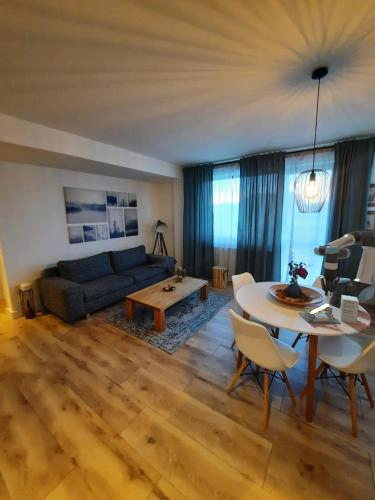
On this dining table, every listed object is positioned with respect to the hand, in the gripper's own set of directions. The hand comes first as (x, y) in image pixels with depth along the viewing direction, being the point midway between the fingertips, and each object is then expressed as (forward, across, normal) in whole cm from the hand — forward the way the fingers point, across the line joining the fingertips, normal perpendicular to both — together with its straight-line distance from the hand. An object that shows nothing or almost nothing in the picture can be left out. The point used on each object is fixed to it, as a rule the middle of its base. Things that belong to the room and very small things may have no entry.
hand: (327, 300), depth 147 cm
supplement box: (+16, -17, -3) cm, 23 cm away
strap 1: (+11, +2, -8) cm, 14 cm away
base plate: (+16, +3, -4) cm, 17 cm away
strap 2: (+8, +5, 0) cm, 9 cm away
